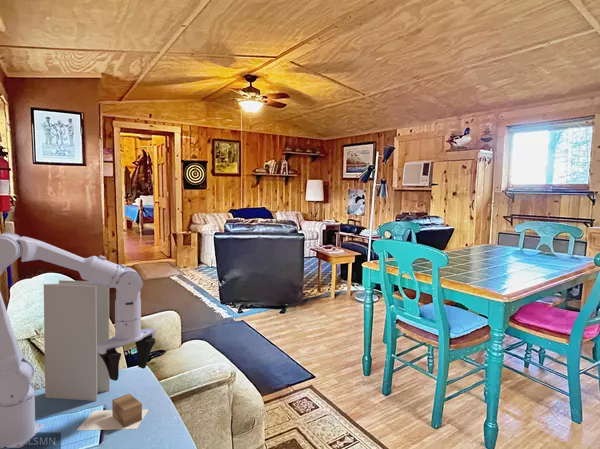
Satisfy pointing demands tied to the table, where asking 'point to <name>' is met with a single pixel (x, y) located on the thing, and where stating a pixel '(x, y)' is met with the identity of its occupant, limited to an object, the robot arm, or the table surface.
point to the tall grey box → (75, 339)
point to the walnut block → (127, 410)
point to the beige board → (106, 421)
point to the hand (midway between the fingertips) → (128, 373)
